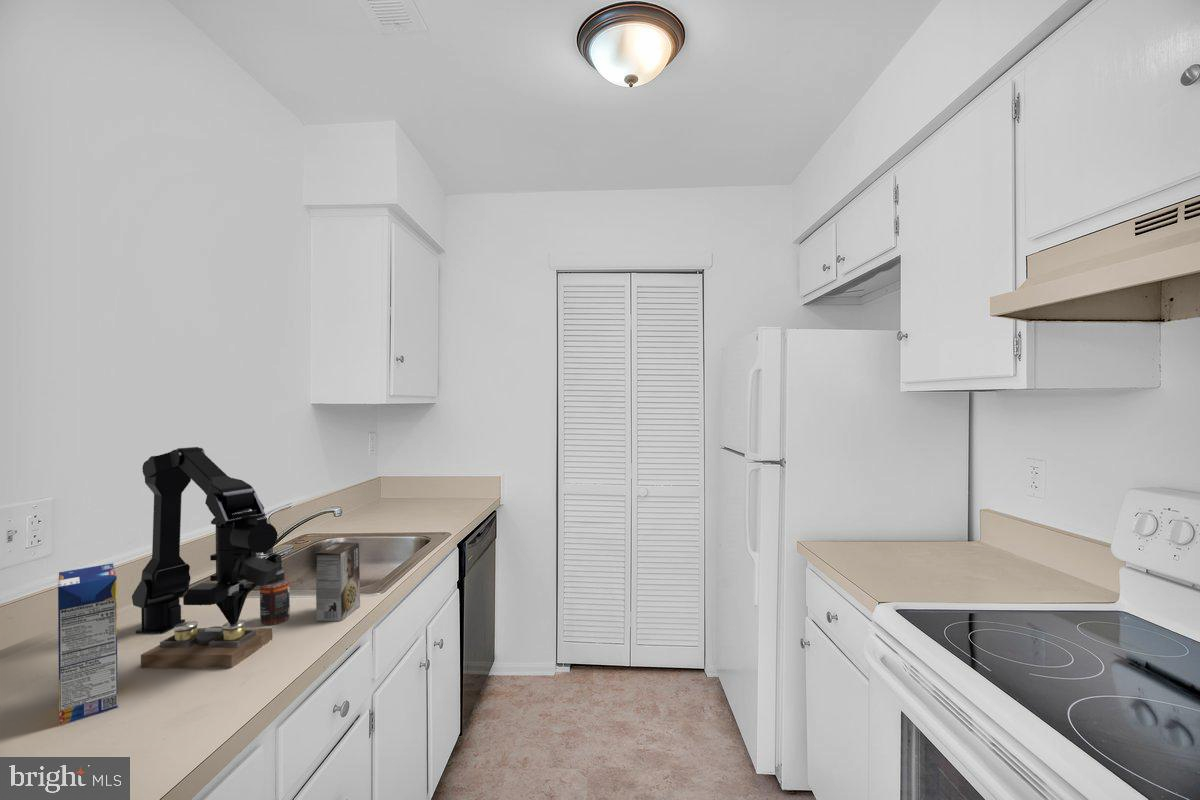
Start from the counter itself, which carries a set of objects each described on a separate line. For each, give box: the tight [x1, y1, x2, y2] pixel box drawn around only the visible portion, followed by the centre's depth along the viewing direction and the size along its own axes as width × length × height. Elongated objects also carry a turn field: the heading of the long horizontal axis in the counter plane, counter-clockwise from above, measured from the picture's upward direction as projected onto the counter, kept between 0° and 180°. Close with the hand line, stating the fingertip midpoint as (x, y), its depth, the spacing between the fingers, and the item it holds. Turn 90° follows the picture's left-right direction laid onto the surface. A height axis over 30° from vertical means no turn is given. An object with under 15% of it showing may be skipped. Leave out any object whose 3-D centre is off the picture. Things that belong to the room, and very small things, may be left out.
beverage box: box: [57, 563, 119, 726], centre depth 89 cm, size 7×11×22 cm, turn 45°
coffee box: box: [314, 541, 361, 622], centre depth 127 cm, size 9×6×16 cm
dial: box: [196, 625, 223, 645], centre depth 107 cm, size 5×4×2 cm
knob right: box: [221, 619, 246, 641], centre depth 107 cm, size 4×4×6 cm
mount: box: [140, 627, 274, 669], centre depth 107 cm, size 18×12×4 cm, turn 88°
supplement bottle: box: [259, 569, 291, 626], centre depth 123 cm, size 6×6×11 cm
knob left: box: [173, 620, 199, 641], centre depth 107 cm, size 4×4×6 cm
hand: (233, 623), depth 107 cm, fingers closed, pressing on knob right
